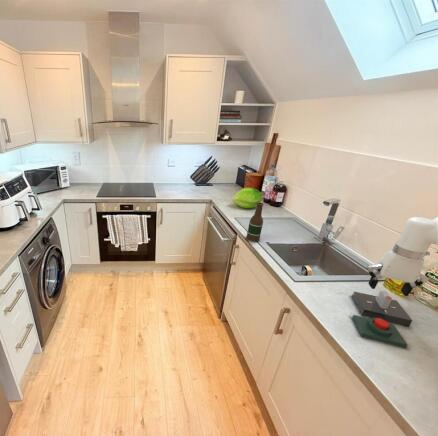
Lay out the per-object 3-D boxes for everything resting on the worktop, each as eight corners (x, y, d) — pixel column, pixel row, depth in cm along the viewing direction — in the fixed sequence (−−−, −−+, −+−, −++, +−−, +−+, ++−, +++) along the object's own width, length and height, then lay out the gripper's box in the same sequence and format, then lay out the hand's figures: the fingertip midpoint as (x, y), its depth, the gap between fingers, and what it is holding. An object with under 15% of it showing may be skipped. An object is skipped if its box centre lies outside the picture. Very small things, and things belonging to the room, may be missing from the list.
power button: (384, 323, 84) (386, 319, 83) (389, 331, 81) (391, 327, 80) (371, 320, 85) (373, 316, 84) (376, 328, 82) (378, 324, 81)
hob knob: (375, 300, 94) (380, 289, 92) (381, 301, 94) (386, 291, 92) (380, 308, 90) (386, 297, 88) (386, 309, 90) (392, 298, 88)
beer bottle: (257, 236, 150) (265, 201, 141) (261, 242, 143) (269, 205, 134) (245, 235, 152) (251, 200, 142) (247, 241, 145) (254, 205, 135)
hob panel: (393, 306, 96) (396, 300, 94) (408, 326, 86) (412, 320, 85) (351, 296, 100) (354, 291, 99) (361, 315, 91) (364, 309, 90)
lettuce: (229, 211, 204) (227, 192, 207) (259, 209, 202) (256, 190, 205) (235, 207, 186) (233, 186, 188) (268, 204, 184) (265, 183, 187)
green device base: (392, 327, 86) (396, 320, 84) (405, 348, 78) (410, 341, 77) (351, 317, 90) (355, 311, 89) (361, 336, 82) (364, 329, 81)
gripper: (434, 251, 83) (411, 290, 90) (372, 241, 89) (355, 278, 96) (449, 263, 76) (423, 303, 83) (382, 251, 82) (363, 290, 89)
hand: (387, 290), depth 89 cm, fingers open, 9 cm apart
